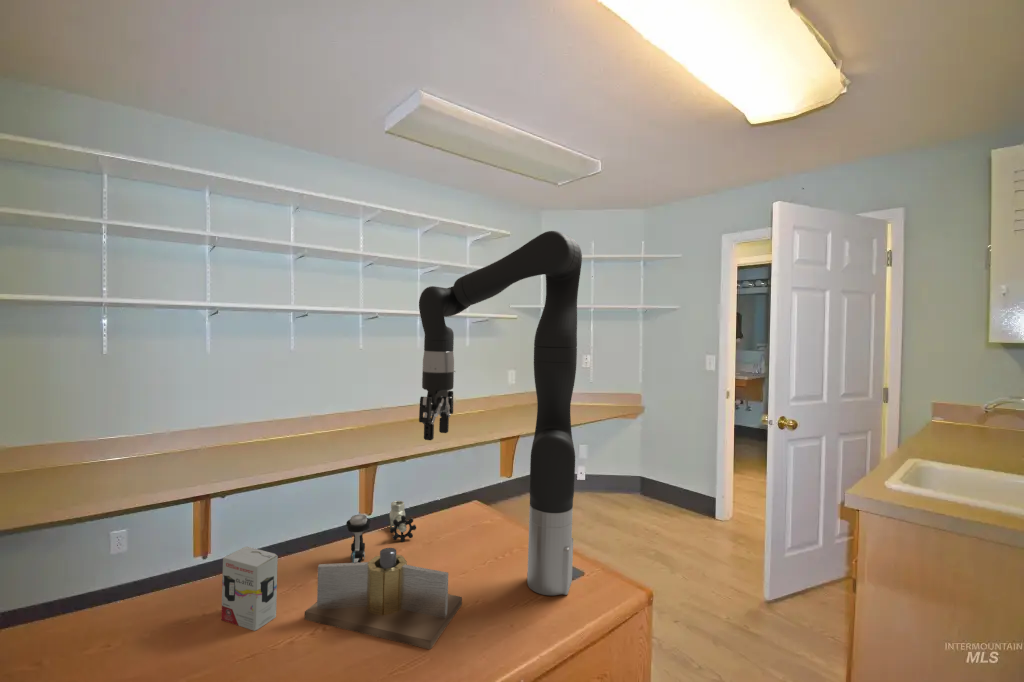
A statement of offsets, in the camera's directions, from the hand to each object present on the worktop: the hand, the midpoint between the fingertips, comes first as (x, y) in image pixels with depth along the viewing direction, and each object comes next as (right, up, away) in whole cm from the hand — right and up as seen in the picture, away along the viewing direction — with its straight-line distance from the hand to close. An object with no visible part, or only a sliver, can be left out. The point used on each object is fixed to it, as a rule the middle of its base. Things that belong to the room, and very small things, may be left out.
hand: (436, 436), depth 116 cm
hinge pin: (-6, -27, -25) cm, 37 cm away
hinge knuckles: (-6, -27, -26) cm, 38 cm away
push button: (-17, -28, -6) cm, 33 cm away
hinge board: (-6, -29, -25) cm, 38 cm away
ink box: (-30, -28, -28) cm, 50 cm away
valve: (-11, -28, +10) cm, 32 cm away
